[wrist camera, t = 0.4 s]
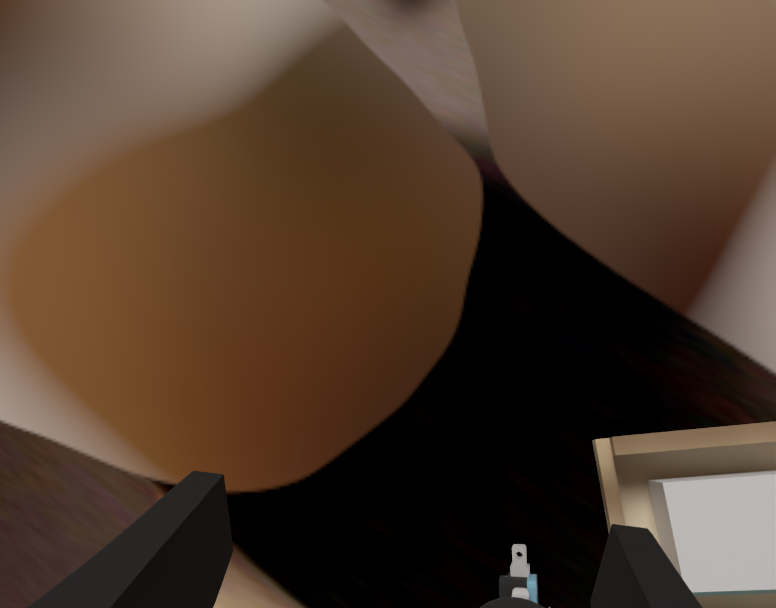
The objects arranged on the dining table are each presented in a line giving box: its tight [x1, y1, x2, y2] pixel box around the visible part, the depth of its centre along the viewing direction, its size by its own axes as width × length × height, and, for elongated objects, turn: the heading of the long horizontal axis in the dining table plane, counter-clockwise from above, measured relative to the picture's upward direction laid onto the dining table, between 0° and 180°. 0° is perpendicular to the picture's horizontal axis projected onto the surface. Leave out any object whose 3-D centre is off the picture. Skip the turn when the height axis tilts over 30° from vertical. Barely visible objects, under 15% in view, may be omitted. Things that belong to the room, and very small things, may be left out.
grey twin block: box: [647, 470, 776, 596], centre depth 30 cm, size 5×7×5 cm
